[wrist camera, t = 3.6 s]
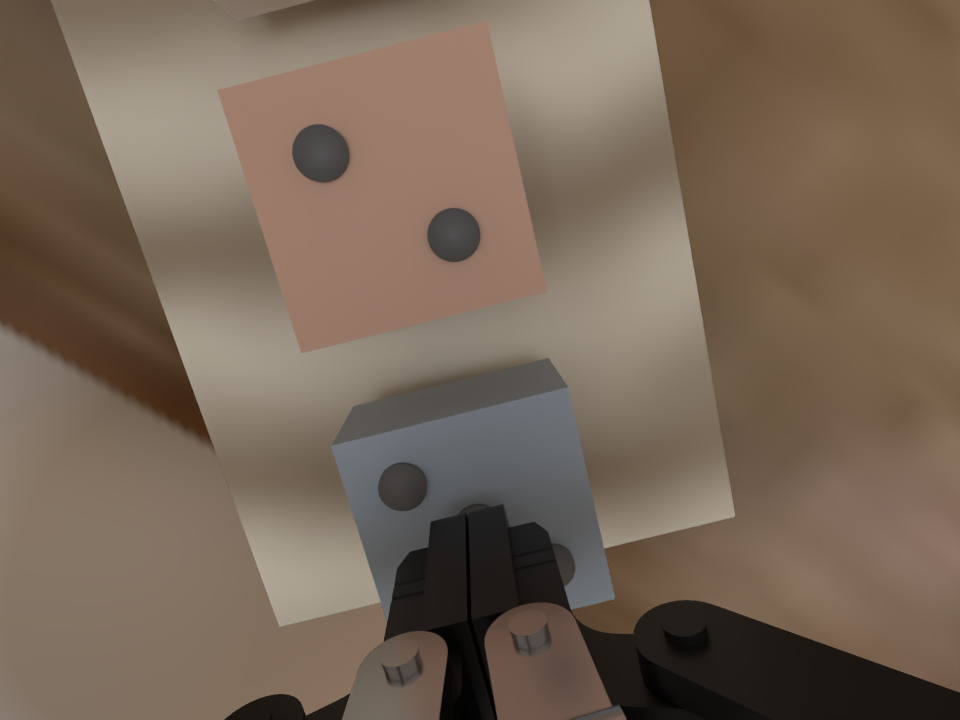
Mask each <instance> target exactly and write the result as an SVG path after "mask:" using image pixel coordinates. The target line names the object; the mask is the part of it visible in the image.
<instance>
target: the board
mask: <svg viewBox="0 0 960 720" xmlns="http://www.w3.org/2000/svg"><path fill="white" fill-rule="evenodd" d="M51 2H52V5H53V8H54V10H55V13H56V16H57V19H58V21H59V24H60V27H61V30H62V32H63V35H64V38H65V41H66V43H67V46H68V49H69V52H70V54H71V57H72V60H73V63H74V65H75V68H76V71H77V73H78V76H79V79H80V82H81V84H82V87H83V90H84V93H85V95H86V98H87V101H88V104H89V106H90V109H91V112H92V115H93V117H94V120H95V123H96V126H97V128H98V131H99V134H100V137H101V139H102V142H103V145H104V147H105V150H106V153H107V156H108V158H109V161H110V164H111V167H112V169H113V172H114V175H115V178H116V180H117V183H118V186H119V189H120V191H121V194H122V197H123V200H124V202H125V205H126V208H127V210H128V213H129V216H130V219H131V221H132V224H133V227H134V230H135V232H136V235H137V238H138V241H139V243H140V246H141V249H142V252H143V254H144V257H145V260H146V263H147V265H148V268H149V271H150V274H151V276H152V279H153V282H154V284H155V287H156V290H157V293H158V295H159V298H160V301H161V304H162V306H163V309H164V312H165V315H166V317H167V320H168V323H169V326H170V328H171V331H172V334H173V337H174V339H175V342H176V345H177V347H178V350H179V353H180V356H181V358H182V361H183V364H184V367H185V369H186V372H187V375H188V378H189V380H190V383H191V386H192V389H193V391H194V394H195V397H196V400H197V402H198V405H199V408H200V411H201V413H202V416H203V419H204V421H205V424H206V427H207V430H208V432H209V435H210V438H211V441H212V443H213V446H214V449H215V452H216V454H217V457H218V460H219V463H220V465H221V468H222V471H223V473H224V476H225V479H226V482H227V484H228V487H229V490H230V492H231V495H232V498H233V501H234V503H235V506H236V509H237V512H238V515H239V517H240V520H241V523H242V526H243V528H244V531H245V534H246V536H247V539H248V542H249V545H250V547H251V550H252V553H253V556H254V558H255V561H256V564H257V567H258V569H259V572H260V575H261V578H262V580H263V583H264V586H265V589H266V591H267V594H268V597H269V599H270V602H271V605H272V608H273V611H274V613H275V616H276V619H277V621H278V624H279V626H280V627H281V626H285V625H289V624H293V623H297V622H302V621H306V620H309V619H314V618H318V617H322V616H326V615H331V614H335V613H339V612H343V611H347V610H351V609H355V608H360V607H364V606H368V605H372V604H376V603H380V602H381V601H380V598H379V595H378V592H377V589H376V586H375V583H374V579H373V576H372V573H371V570H370V567H369V564H368V561H367V558H366V554H365V551H364V548H363V545H362V542H361V539H360V536H359V533H358V529H357V526H356V523H355V520H354V517H353V514H352V511H351V507H350V504H349V501H348V498H347V495H346V492H345V489H344V486H343V482H342V479H341V476H340V473H339V470H338V467H337V464H336V460H335V457H334V454H333V451H332V448H331V445H332V443H333V441H334V440H335V438H336V436H337V434H338V433H339V431H340V429H341V427H342V425H343V424H344V422H345V420H346V418H347V417H348V415H349V413H350V411H351V410H352V408H353V406H357V405H361V404H365V403H369V402H373V401H377V400H381V399H385V398H389V397H393V396H397V395H401V394H405V393H409V392H413V391H417V390H421V389H425V388H429V387H433V386H437V385H441V384H445V383H449V382H453V381H457V380H461V379H465V378H469V377H473V376H477V375H482V374H486V373H490V372H494V371H498V370H502V369H506V368H510V367H514V366H518V365H522V364H526V363H530V362H534V361H538V360H542V359H546V358H549V359H550V361H551V362H552V364H553V365H554V367H555V368H556V370H557V371H558V373H559V374H560V376H561V377H562V379H563V380H564V382H565V383H566V385H567V386H568V388H569V393H570V397H571V402H572V406H573V411H574V415H575V420H576V424H577V429H578V433H579V438H580V442H581V447H582V451H583V456H584V460H585V465H586V469H587V474H588V478H589V483H590V487H591V492H592V496H593V501H594V505H595V510H596V514H597V519H598V523H599V528H600V532H601V537H602V541H603V546H604V548H608V547H612V546H616V545H620V544H624V543H628V542H633V541H637V540H641V539H645V538H649V537H653V536H657V535H662V534H666V533H670V532H674V531H678V530H682V529H686V528H691V527H695V526H699V525H703V524H707V523H711V522H715V521H719V520H724V519H728V518H732V517H735V512H734V506H733V500H732V494H731V488H730V482H729V476H728V470H727V464H726V458H725V452H724V446H723V440H722V434H721V428H720V422H719V416H718V410H717V404H716V398H715V392H714V386H713V380H712V374H711V368H710V362H709V356H708V350H707V344H706V338H705V332H704V326H703V320H702V314H701V308H700V302H699V296H698V290H697V284H696V278H695V272H694V266H693V260H692V254H691V249H690V243H689V237H688V231H687V225H686V219H685V213H684V207H683V201H682V195H681V189H680V183H679V177H678V171H677V165H676V159H675V153H674V147H673V141H672V135H671V129H670V123H669V117H668V111H667V105H666V99H665V93H664V87H663V81H662V75H661V69H660V63H659V57H658V51H657V45H656V39H655V33H654V27H653V21H652V15H651V9H650V3H649V0H314V1H311V2H307V3H303V4H299V5H295V6H291V7H288V8H284V9H280V10H276V11H272V12H268V13H265V14H261V15H257V16H253V17H249V18H245V19H242V20H238V21H235V20H234V19H233V18H232V17H230V16H229V15H228V14H227V13H226V12H225V11H224V10H223V9H222V8H221V7H219V6H218V5H217V4H216V3H215V2H214V1H213V0H51ZM486 20H487V24H488V28H489V33H490V37H491V42H492V46H493V51H494V55H495V60H496V64H497V69H498V73H499V78H500V82H501V87H502V91H503V96H504V100H505V105H506V109H507V114H508V118H509V123H510V127H511V132H512V136H513V141H514V145H515V150H516V154H517V159H518V163H519V168H520V172H521V177H522V181H523V186H524V190H525V195H526V199H527V204H528V208H529V213H530V217H531V222H532V226H533V231H534V235H535V240H536V244H537V249H538V253H539V258H540V262H541V267H542V271H543V276H544V280H545V285H546V289H547V292H545V293H541V294H537V295H533V296H529V297H525V298H521V299H517V300H513V301H509V302H505V303H501V304H497V305H493V306H489V307H485V308H481V309H477V310H473V311H469V312H465V313H461V314H457V315H453V316H449V317H445V318H441V319H437V320H433V321H429V322H425V323H421V324H417V325H413V326H409V327H405V328H401V329H397V330H393V331H389V332H385V333H381V334H377V335H373V336H369V337H365V338H361V339H357V340H353V341H349V342H345V343H341V344H337V345H333V346H329V347H325V348H321V349H317V350H313V351H309V352H305V353H301V351H300V348H299V345H298V342H297V338H296V335H295V332H294V329H293V326H292V323H291V320H290V316H289V313H288V310H287V307H286V304H285V301H284V298H283V295H282V291H281V288H280V285H279V282H278V279H277V276H276V273H275V270H274V266H273V263H272V260H271V257H270V254H269V251H268V248H267V244H266V241H265V238H264V235H263V232H262V229H261V226H260V223H259V219H258V216H257V213H256V210H255V207H254V204H253V201H252V198H251V194H250V191H249V188H248V185H247V182H246V179H245V176H244V172H243V169H242V166H241V163H240V160H239V157H238V154H237V151H236V147H235V144H234V141H233V138H232V135H231V132H230V129H229V125H228V122H227V119H226V116H225V113H224V110H223V107H222V104H221V100H220V97H219V94H218V91H217V90H220V89H224V88H228V87H231V86H235V85H239V84H243V83H247V82H251V81H255V80H258V79H262V78H266V77H270V76H274V75H278V74H282V73H285V72H289V71H293V70H297V69H301V68H305V67H309V66H312V65H316V64H320V63H324V62H328V61H332V60H336V59H339V58H343V57H347V56H351V55H355V54H359V53H363V52H366V51H370V50H374V49H378V48H382V47H386V46H390V45H393V44H397V43H401V42H405V41H409V40H413V39H417V38H420V37H424V36H428V35H432V34H436V33H440V32H444V31H447V30H451V29H455V28H459V27H463V26H467V25H471V24H474V23H478V22H482V21H486Z"/></svg>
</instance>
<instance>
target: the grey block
mask: <svg viewBox="0 0 960 720" xmlns="http://www.w3.org/2000/svg"><path fill="white" fill-rule="evenodd" d="M331 448H332V451H333V454H334V457H335V460H336V464H337V467H338V470H339V473H340V476H341V479H342V482H343V486H344V489H345V492H346V495H347V498H348V501H349V504H350V507H351V511H352V514H353V517H354V520H355V523H356V526H357V529H358V533H359V536H360V539H361V542H362V545H363V548H364V551H365V554H366V558H367V561H368V564H369V567H370V570H371V573H372V576H373V579H374V583H375V586H376V589H377V592H378V595H379V598H380V601H381V604H382V608H383V611H384V614H385V617H386V620H387V621H388V616H389V610H390V605H391V602H392V594H393V588H395V586H394V583H395V577H396V572H397V568H398V566H399V565H400V564H401V562H402V561H403V560H404V559H405V557H406V556H407V555H408V553H409V552H410V551H414V550H418V549H422V548H426V547H428V543H429V533H430V523H431V521H434V520H438V519H442V518H447V517H451V516H455V515H459V514H463V513H466V514H467V516H468V513H469V512H471V511H475V510H479V509H483V508H488V507H492V506H496V505H500V504H503V505H504V508H505V511H506V515H507V519H508V523H509V527H513V526H517V525H522V524H526V523H530V522H536V523H537V524H538V525H540V526H541V527H542V528H544V529H545V530H546V531H548V533H549V537H550V540H551V543H552V547H553V550H554V554H555V557H556V561H557V564H558V567H559V571H560V574H561V578H562V581H563V585H564V588H565V591H566V595H567V598H568V602H569V605H570V609H571V610H572V609H576V608H580V607H584V606H588V605H592V604H597V603H601V602H605V601H609V600H613V599H615V595H614V591H613V586H612V582H611V577H610V573H609V568H608V564H607V559H606V555H605V550H604V546H603V541H602V537H601V532H600V528H599V523H598V519H597V514H596V510H595V505H594V501H593V496H592V492H591V487H590V483H589V478H588V474H587V469H586V465H585V460H584V456H583V451H582V447H581V442H580V438H579V433H578V429H577V424H576V420H575V415H574V411H573V406H572V402H571V397H570V393H569V388H568V386H567V385H566V383H565V382H564V380H563V379H562V377H561V376H560V374H559V373H558V371H557V370H556V368H555V367H554V365H553V364H552V362H551V361H550V359H549V358H546V359H542V360H538V361H534V362H530V363H526V364H522V365H518V366H514V367H510V368H506V369H502V370H498V371H494V372H490V373H486V374H482V375H477V376H473V377H469V378H465V379H461V380H457V381H453V382H449V383H445V384H441V385H437V386H433V387H429V388H425V389H421V390H417V391H413V392H409V393H405V394H401V395H397V396H393V397H389V398H385V399H381V400H377V401H373V402H369V403H365V404H361V405H357V406H353V408H352V410H351V411H350V413H349V415H348V417H347V418H346V420H345V422H344V424H343V425H342V427H341V429H340V431H339V433H338V434H337V436H336V438H335V440H334V441H333V443H332V445H331Z"/></svg>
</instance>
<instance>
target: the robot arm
mask: <svg viewBox="0 0 960 720" xmlns="http://www.w3.org/2000/svg"><path fill="white" fill-rule="evenodd" d="M394 586H395V588H393V594H392V602H391V605H390V610H389V616H388V621H387V627H386V632H385V637H384V642H383V643H381V644H380V645H379V646H377V647H376V648H374V649H373V650H372V651H371V652H370V653H369V654H368V655H367V656H366V658H365V659H364V660H363V662H362V663H361V665H360V667H359V669H358V671H357V675H356V678H355V681H354V684H353V687H352V690H351V693H350V694H348V695H347V696H345V697H343V698H341V699H339V700H338V701H336V702H333V703H331V704H329V705H327V706H325V707H323V708H321V709H319V710H317V711H315V712H313V713H311V714H309V715H307V716H306V715H305V712H304V709H303V707H302V704H301V702H300V701H299V700H298V699H297V698H295V697H293V696H290V695H285V694H276V695H270V696H266V697H263V698H260V699H257V700H255V701H252V702H250V703H248V704H246V705H245V706H243V707H241V708H240V709H238V710H236V711H235V712H233V713H232V714H231V715H230V716H228V717H227V718H226V719H225V720H960V693H959V692H956V691H954V690H951V689H948V688H945V687H942V686H940V685H937V684H934V683H931V682H928V681H926V680H923V679H920V678H917V677H914V676H912V675H909V674H906V673H903V672H900V671H898V670H895V669H892V668H889V667H886V666H883V665H881V664H878V663H875V662H872V661H869V660H867V659H864V658H861V657H858V656H855V655H853V654H850V653H847V652H844V651H841V650H839V649H836V648H833V647H830V646H827V645H825V644H822V643H819V642H816V641H813V640H811V639H808V638H805V637H802V636H799V635H797V634H794V633H791V632H788V631H785V630H783V629H780V628H777V627H774V626H771V625H768V624H766V623H763V622H760V621H757V620H754V619H752V618H749V617H746V616H743V615H740V614H738V613H735V612H732V611H729V610H726V609H724V608H721V607H718V606H715V605H712V604H709V603H705V602H700V601H691V600H683V601H673V602H668V603H665V604H662V605H659V606H657V607H654V608H653V609H651V610H649V611H648V612H647V613H645V614H644V615H643V616H642V617H641V618H640V619H639V621H638V622H637V624H636V626H635V629H634V634H610V633H604V632H599V631H596V630H593V629H591V628H588V627H586V626H585V625H583V624H582V623H580V622H579V621H578V620H577V619H576V618H575V616H574V615H573V613H572V611H571V609H570V605H569V602H568V598H567V595H566V591H565V588H564V585H563V581H562V578H561V574H560V571H559V567H558V564H557V561H556V557H555V554H554V550H553V547H552V543H551V540H550V537H549V533H548V531H546V530H545V529H544V528H542V527H541V526H540V525H538V524H537V523H536V522H530V523H526V524H522V525H517V526H513V527H509V523H508V519H507V515H506V511H505V508H504V505H503V504H500V505H496V506H492V507H488V508H483V509H479V510H475V511H471V512H469V513H468V516H467V514H466V513H463V514H459V515H455V516H451V517H447V518H442V519H438V520H434V521H431V523H430V533H429V543H428V547H426V548H422V549H418V550H414V551H410V552H409V553H408V555H407V556H406V557H405V559H404V560H403V561H402V562H401V564H400V565H399V566H398V568H397V572H396V577H395V583H394Z"/></svg>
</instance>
